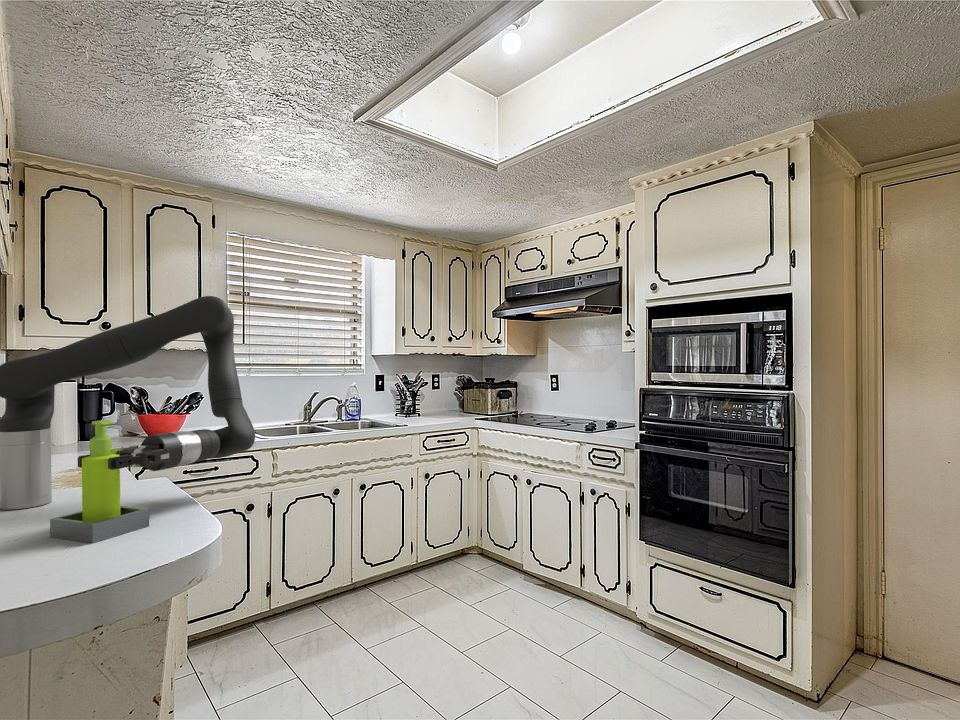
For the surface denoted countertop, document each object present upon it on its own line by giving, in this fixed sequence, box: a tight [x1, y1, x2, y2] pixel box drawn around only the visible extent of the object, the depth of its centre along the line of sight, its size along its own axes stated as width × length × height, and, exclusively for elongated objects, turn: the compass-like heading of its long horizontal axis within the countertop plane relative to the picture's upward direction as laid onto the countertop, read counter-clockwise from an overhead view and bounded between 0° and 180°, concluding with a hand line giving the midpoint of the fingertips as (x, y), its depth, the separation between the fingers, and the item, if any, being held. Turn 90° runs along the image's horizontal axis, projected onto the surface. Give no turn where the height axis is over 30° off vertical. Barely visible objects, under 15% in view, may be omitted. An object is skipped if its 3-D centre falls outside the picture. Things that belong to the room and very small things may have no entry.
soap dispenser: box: [81, 419, 121, 523], centre depth 102 cm, size 6×7×20 cm
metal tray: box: [49, 505, 150, 544], centre depth 102 cm, size 12×11×3 cm
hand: (93, 463), depth 101 cm, fingers open, 8 cm apart
